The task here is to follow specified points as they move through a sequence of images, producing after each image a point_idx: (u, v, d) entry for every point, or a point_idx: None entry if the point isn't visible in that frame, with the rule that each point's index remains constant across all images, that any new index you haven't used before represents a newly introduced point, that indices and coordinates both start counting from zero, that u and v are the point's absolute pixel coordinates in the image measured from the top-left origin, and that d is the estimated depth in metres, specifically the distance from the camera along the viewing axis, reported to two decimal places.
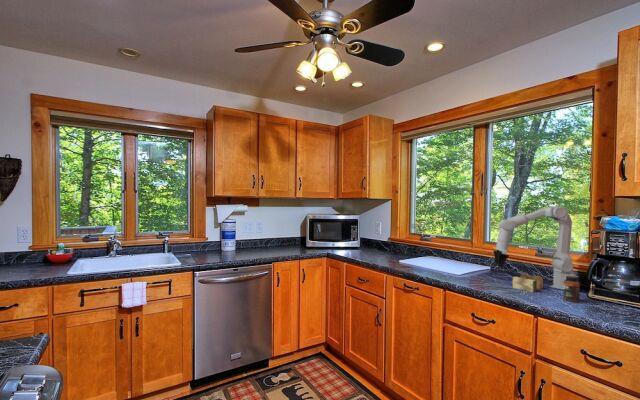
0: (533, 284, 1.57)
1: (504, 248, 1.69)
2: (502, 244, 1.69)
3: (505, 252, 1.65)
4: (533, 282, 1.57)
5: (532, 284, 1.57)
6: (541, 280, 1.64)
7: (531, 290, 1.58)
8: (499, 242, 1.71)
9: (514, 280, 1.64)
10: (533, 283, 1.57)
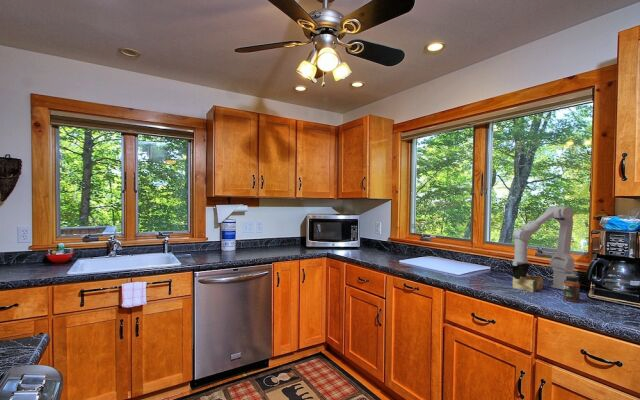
0: (533, 284, 1.57)
1: (519, 260, 1.61)
2: (517, 255, 1.62)
3: (515, 263, 1.59)
4: (533, 282, 1.57)
5: (532, 284, 1.57)
6: (541, 280, 1.64)
7: (531, 290, 1.58)
8: (515, 253, 1.64)
9: (514, 280, 1.64)
10: (533, 283, 1.57)
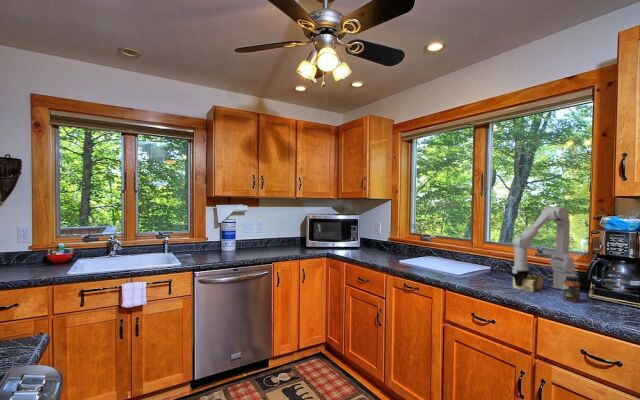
0: (533, 284, 1.57)
1: (519, 267, 1.61)
2: (517, 262, 1.62)
3: (515, 271, 1.59)
4: (533, 282, 1.57)
5: (532, 284, 1.57)
6: (541, 280, 1.64)
7: (531, 290, 1.58)
8: (514, 261, 1.64)
9: (514, 280, 1.64)
10: (533, 283, 1.57)
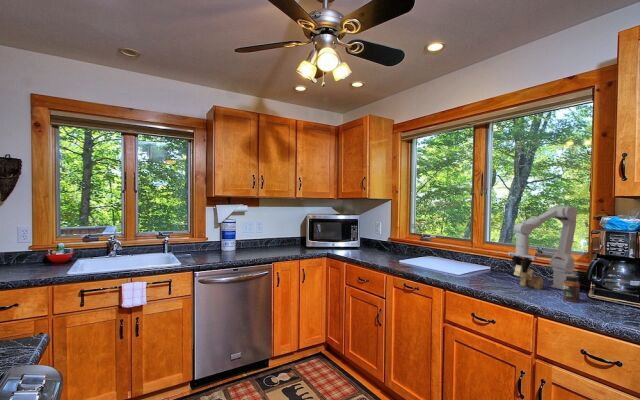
0: (533, 273, 1.64)
1: (527, 253, 1.61)
2: (526, 249, 1.61)
3: (535, 258, 1.57)
4: (533, 271, 1.64)
5: (532, 272, 1.64)
6: (541, 280, 1.64)
7: (530, 278, 1.64)
8: (522, 248, 1.61)
9: (521, 268, 1.61)
10: (533, 272, 1.64)
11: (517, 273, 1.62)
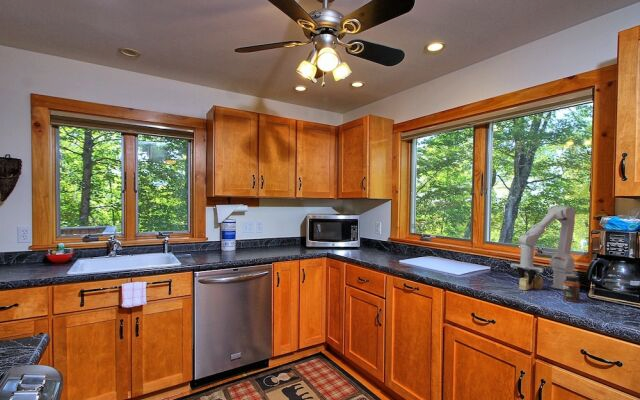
0: (533, 280, 1.65)
1: None
2: (532, 261, 1.60)
3: None
4: (533, 278, 1.65)
5: (533, 280, 1.65)
6: (541, 280, 1.64)
7: (532, 286, 1.64)
8: (529, 260, 1.60)
9: (526, 282, 1.60)
10: (533, 279, 1.65)
11: (523, 287, 1.60)
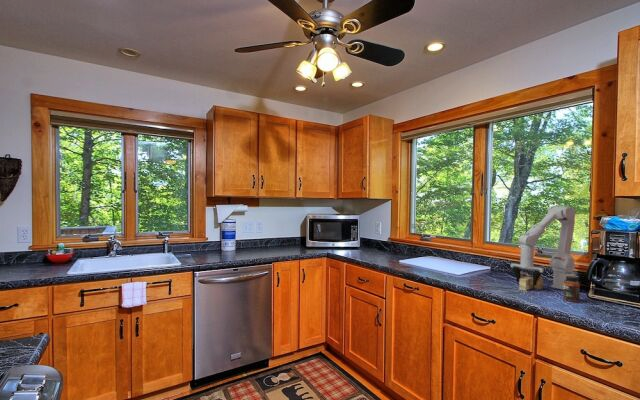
0: None
1: None
2: (532, 261, 1.60)
3: (543, 270, 1.57)
4: None
5: None
6: (541, 280, 1.64)
7: (532, 287, 1.64)
8: (529, 260, 1.60)
9: (526, 282, 1.60)
10: None
11: (523, 288, 1.60)
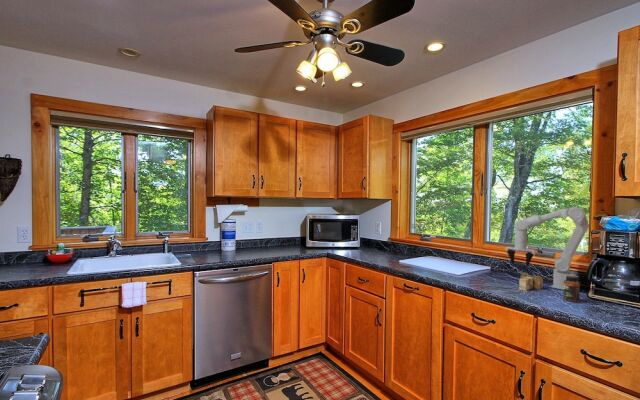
0: (533, 280, 1.65)
1: None
2: (525, 244, 1.74)
3: (535, 252, 1.71)
4: (533, 278, 1.65)
5: (533, 280, 1.65)
6: (541, 280, 1.64)
7: (532, 287, 1.64)
8: (522, 243, 1.74)
9: (526, 282, 1.60)
10: (533, 279, 1.65)
11: (523, 288, 1.60)
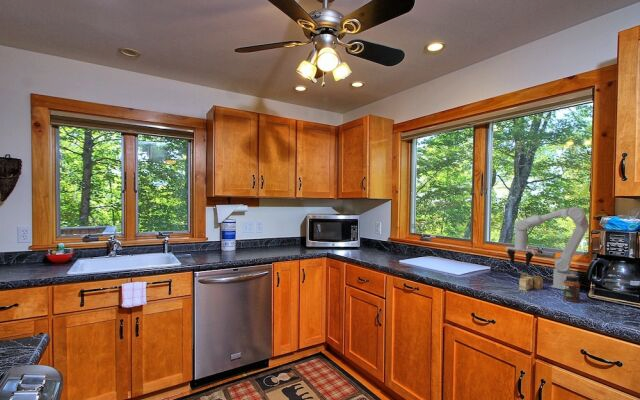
0: (533, 280, 1.65)
1: None
2: (525, 244, 1.74)
3: (535, 252, 1.71)
4: (533, 278, 1.65)
5: (533, 280, 1.65)
6: (541, 280, 1.64)
7: (532, 287, 1.64)
8: (522, 243, 1.74)
9: (526, 282, 1.60)
10: (533, 279, 1.65)
11: (523, 288, 1.60)
